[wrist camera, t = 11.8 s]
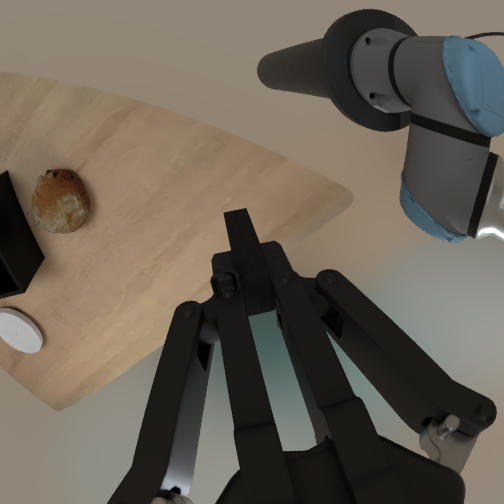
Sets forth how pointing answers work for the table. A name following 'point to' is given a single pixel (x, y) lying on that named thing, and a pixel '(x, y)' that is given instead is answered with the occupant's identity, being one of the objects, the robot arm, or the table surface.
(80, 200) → the bread roll
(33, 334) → the plastic lid
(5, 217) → the black storage bin
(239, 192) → the table surface
